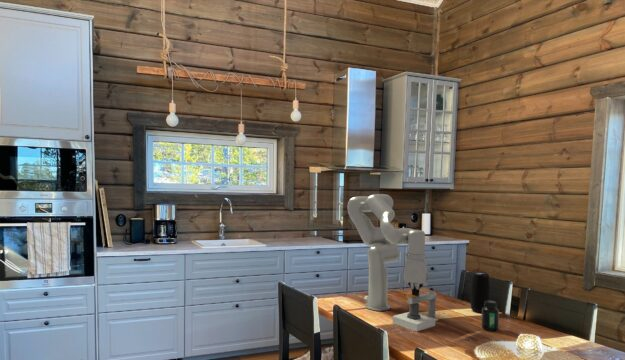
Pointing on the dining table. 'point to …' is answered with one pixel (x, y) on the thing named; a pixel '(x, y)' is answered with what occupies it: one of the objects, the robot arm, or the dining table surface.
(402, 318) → the socket block
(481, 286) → the portable speaker
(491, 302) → the supplement bottle
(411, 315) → the plug
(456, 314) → the dining table surface
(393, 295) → the dining table surface
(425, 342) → the dining table surface
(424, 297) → the grey long bar
